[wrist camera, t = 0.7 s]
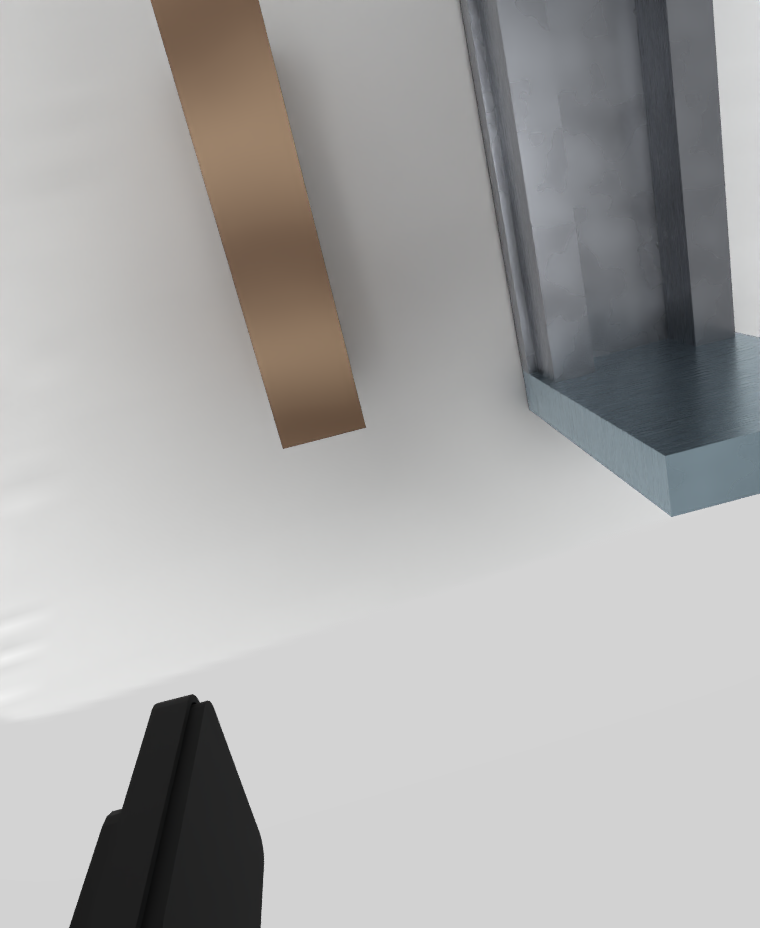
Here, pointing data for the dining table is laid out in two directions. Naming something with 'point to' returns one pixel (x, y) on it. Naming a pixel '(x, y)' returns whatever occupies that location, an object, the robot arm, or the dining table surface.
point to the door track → (620, 237)
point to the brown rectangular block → (262, 212)
